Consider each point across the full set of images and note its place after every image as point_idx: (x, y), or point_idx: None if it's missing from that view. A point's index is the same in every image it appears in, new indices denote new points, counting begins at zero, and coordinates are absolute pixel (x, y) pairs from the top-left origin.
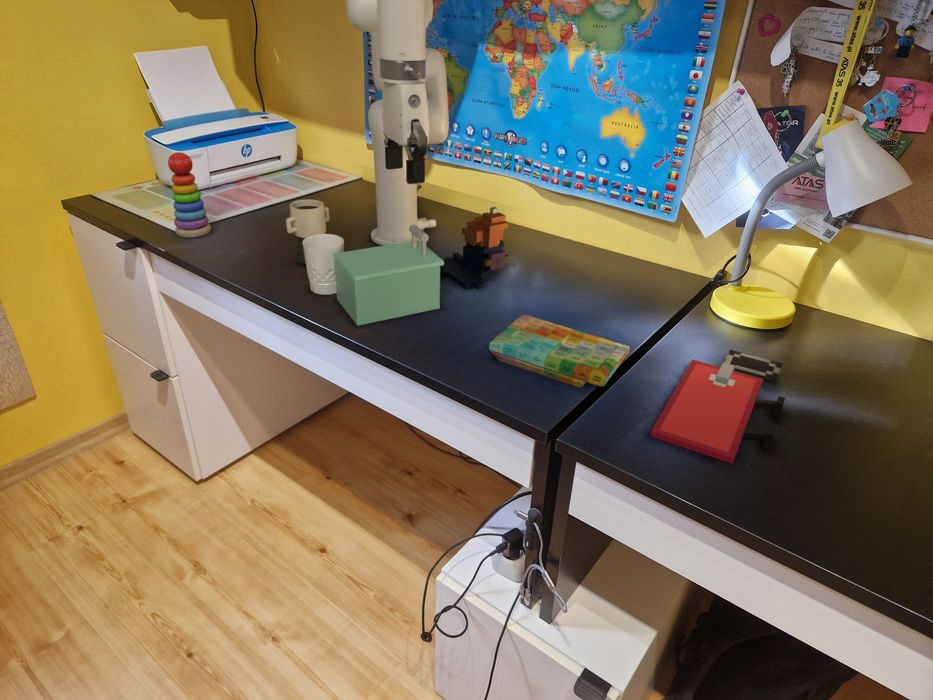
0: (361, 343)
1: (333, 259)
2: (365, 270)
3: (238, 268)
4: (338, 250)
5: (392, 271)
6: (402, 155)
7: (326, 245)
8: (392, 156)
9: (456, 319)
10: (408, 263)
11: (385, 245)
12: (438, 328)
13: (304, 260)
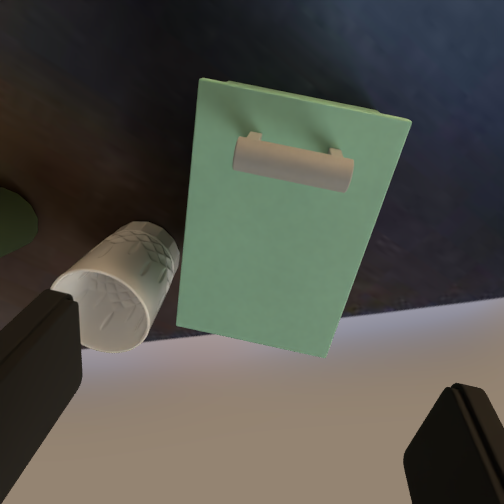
0: (378, 312)
1: (158, 298)
2: (309, 325)
3: (4, 324)
4: (148, 297)
5: (353, 279)
6: (14, 365)
7: (73, 273)
8: (27, 430)
9: (451, 111)
10: (346, 224)
11: (189, 200)
12: (448, 174)
13: (24, 245)
